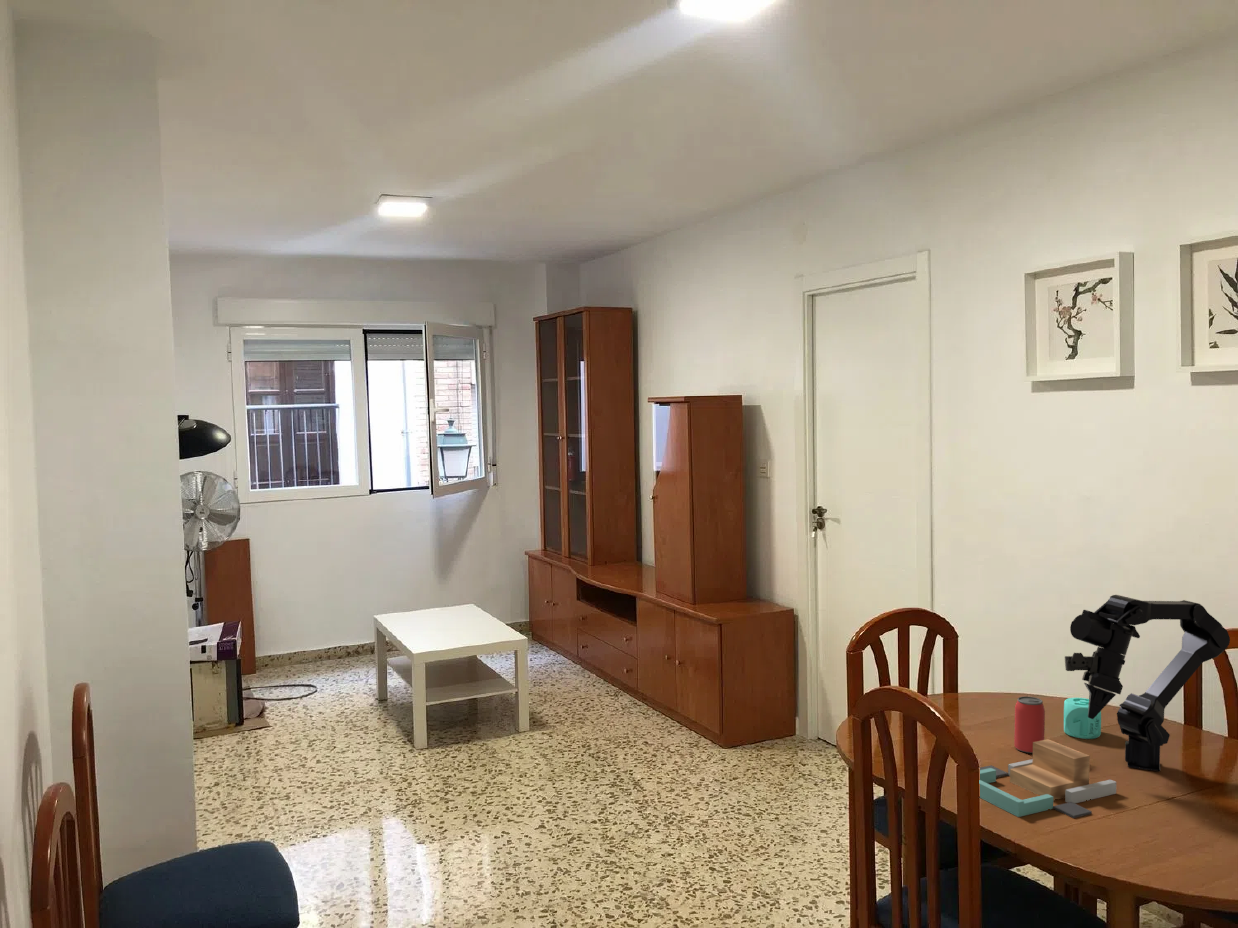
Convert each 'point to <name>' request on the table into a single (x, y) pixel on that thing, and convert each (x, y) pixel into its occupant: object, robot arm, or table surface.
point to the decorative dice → (1080, 719)
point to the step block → (1052, 770)
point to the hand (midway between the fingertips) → (1090, 718)
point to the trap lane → (1039, 802)
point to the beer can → (1028, 723)
